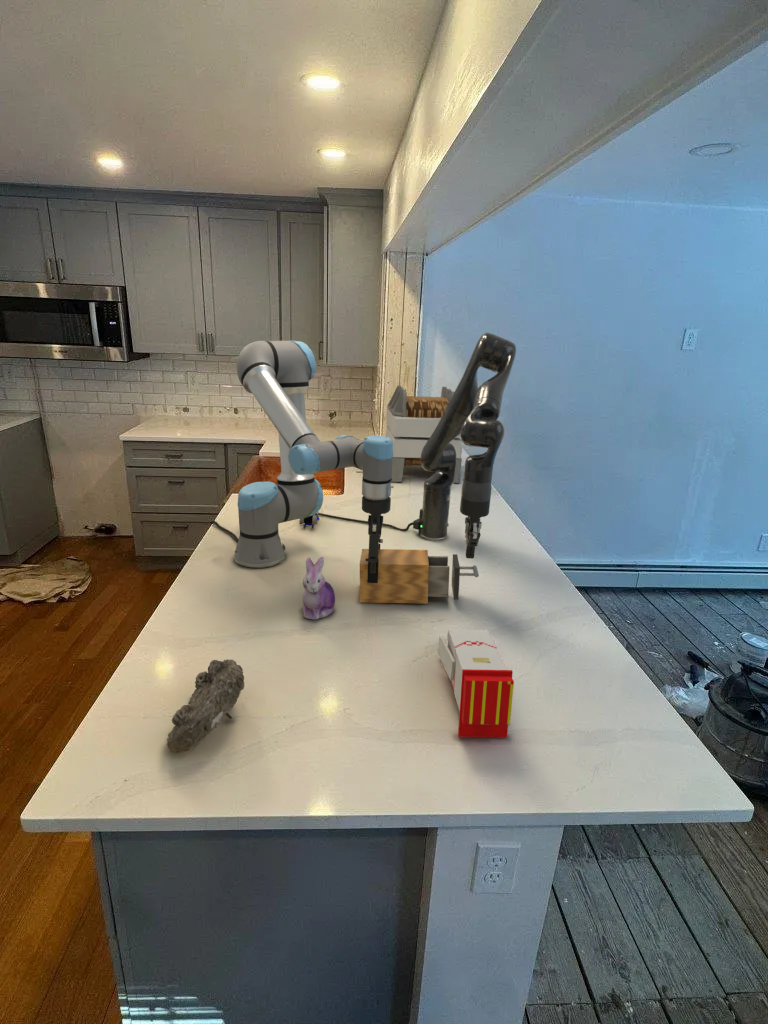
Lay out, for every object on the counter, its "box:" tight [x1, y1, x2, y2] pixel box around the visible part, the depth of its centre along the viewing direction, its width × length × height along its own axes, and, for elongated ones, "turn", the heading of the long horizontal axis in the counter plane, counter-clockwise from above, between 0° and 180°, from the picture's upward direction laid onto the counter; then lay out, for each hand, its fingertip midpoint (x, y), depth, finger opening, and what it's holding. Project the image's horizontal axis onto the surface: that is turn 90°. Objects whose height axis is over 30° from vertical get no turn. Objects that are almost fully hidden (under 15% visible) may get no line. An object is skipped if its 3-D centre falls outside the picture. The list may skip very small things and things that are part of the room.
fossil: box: [166, 658, 245, 754], centre depth 106 cm, size 22×10×15 cm
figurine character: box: [298, 511, 320, 530], centre depth 204 cm, size 7×8×15 cm
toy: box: [437, 628, 515, 738], centre depth 117 cm, size 12×13×30 cm
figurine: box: [302, 556, 336, 621], centre depth 144 cm, size 9×10×15 cm
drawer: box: [428, 553, 480, 601], centre depth 154 cm, size 22×9×10 cm, turn 88°
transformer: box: [385, 384, 464, 484], centre depth 268 cm, size 34×33×41 cm
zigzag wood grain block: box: [359, 548, 429, 605], centre depth 155 cm, size 18×10×11 cm, turn 88°
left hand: (373, 573), depth 155 cm, fingers closed on zigzag wood grain block, 10 cm apart
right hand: (469, 557), depth 152 cm, fingers closed
